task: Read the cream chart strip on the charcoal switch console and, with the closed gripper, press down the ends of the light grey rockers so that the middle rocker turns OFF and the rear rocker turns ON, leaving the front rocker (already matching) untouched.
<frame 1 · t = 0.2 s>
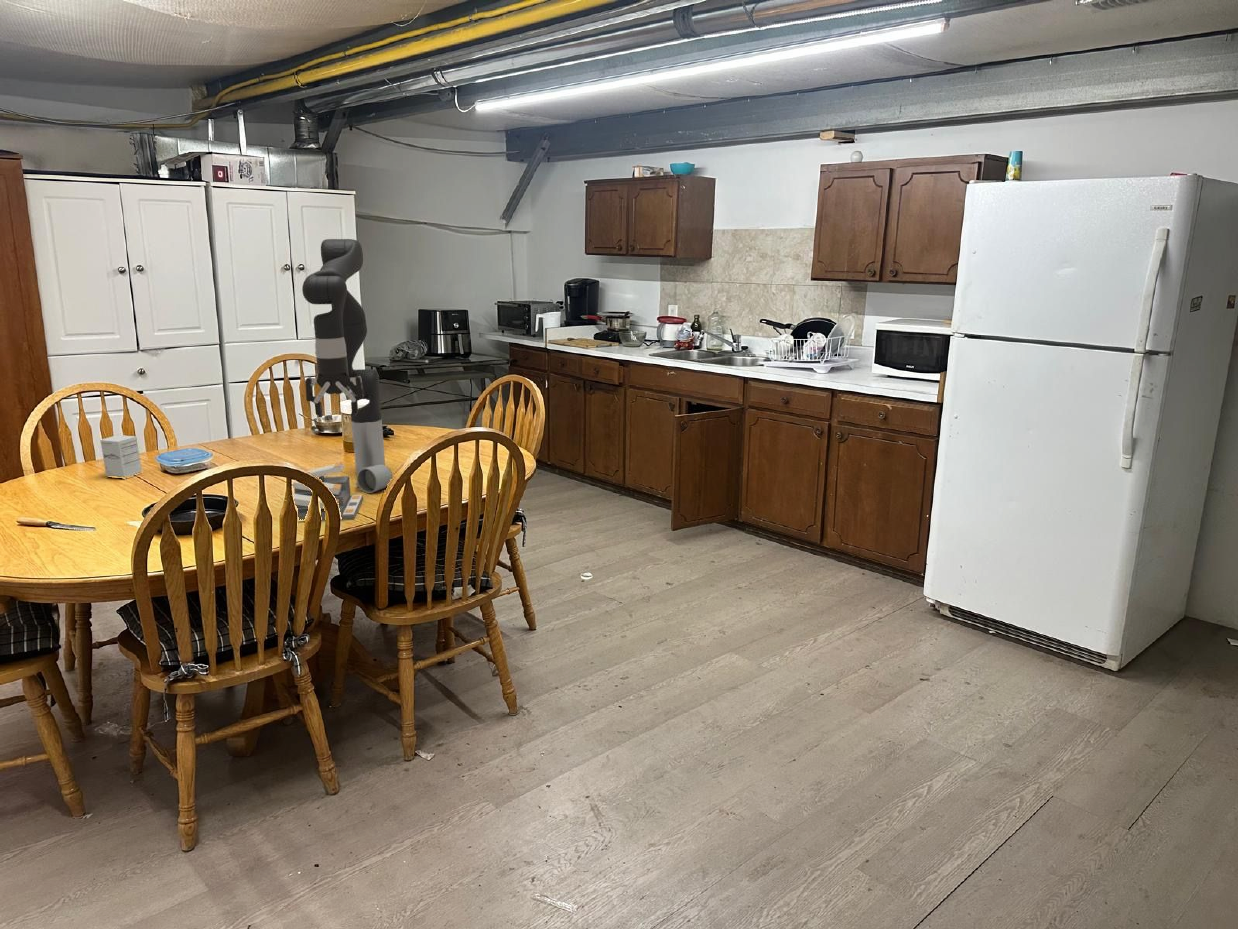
hand: (337, 416, 225), 28 cm above the table, tool pointing down, fingers open, 8 cm apart
rear rocker: (320, 471, 242), point 10 cm above the table, hinge at 12.0°
front rocker: (314, 501, 232), point 5 cm above the table, hinge at -12.0°
ceramic mug: (372, 490, 258), on the table
supplement box: (124, 476, 272), on the table
middle rocker: (317, 486, 237), point 7 cm above the table, hinge at -12.0°
switch console: (320, 510, 239), on the table
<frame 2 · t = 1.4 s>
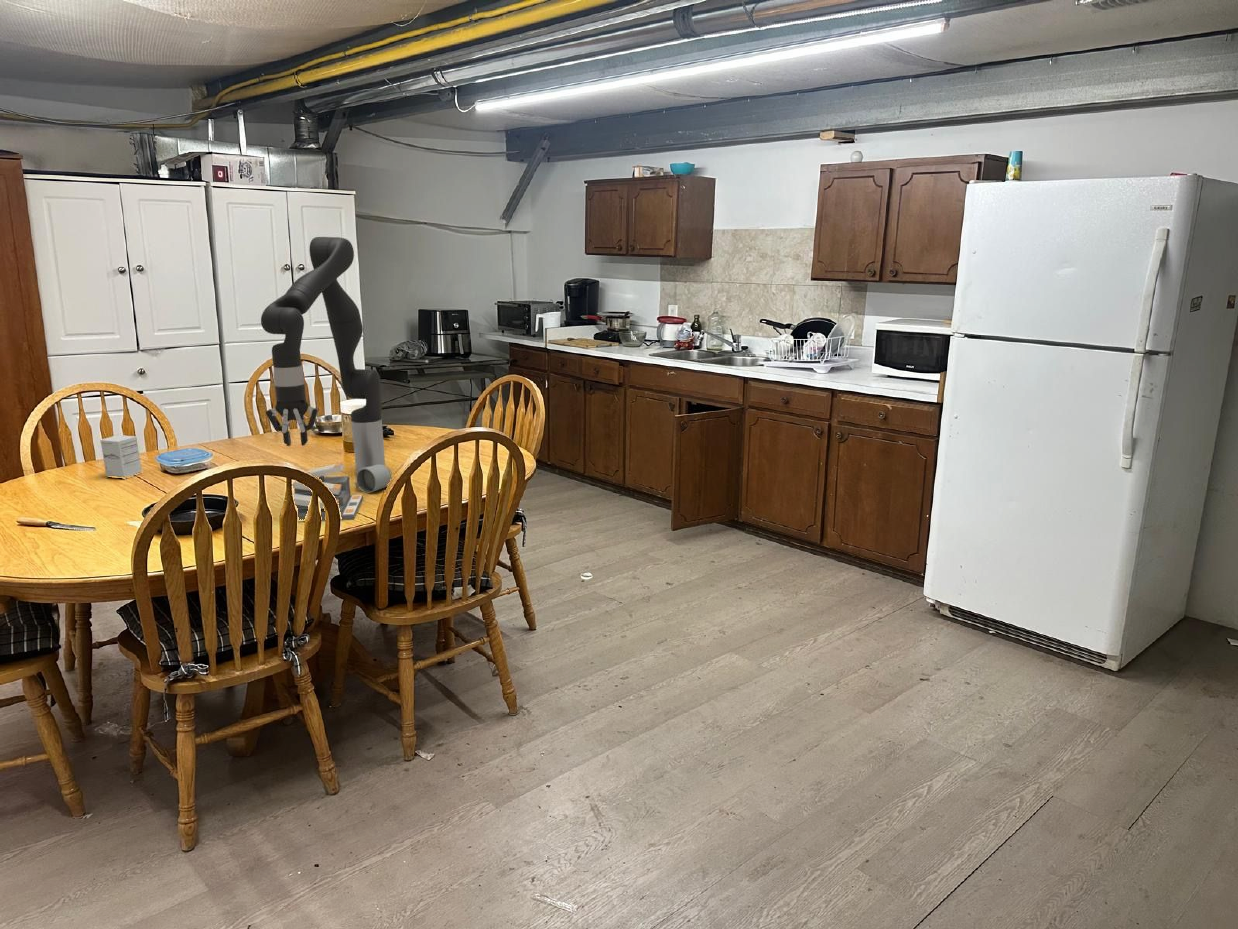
hand: (296, 444, 233), 19 cm above the table, tool pointing down, fingers open, 3 cm apart
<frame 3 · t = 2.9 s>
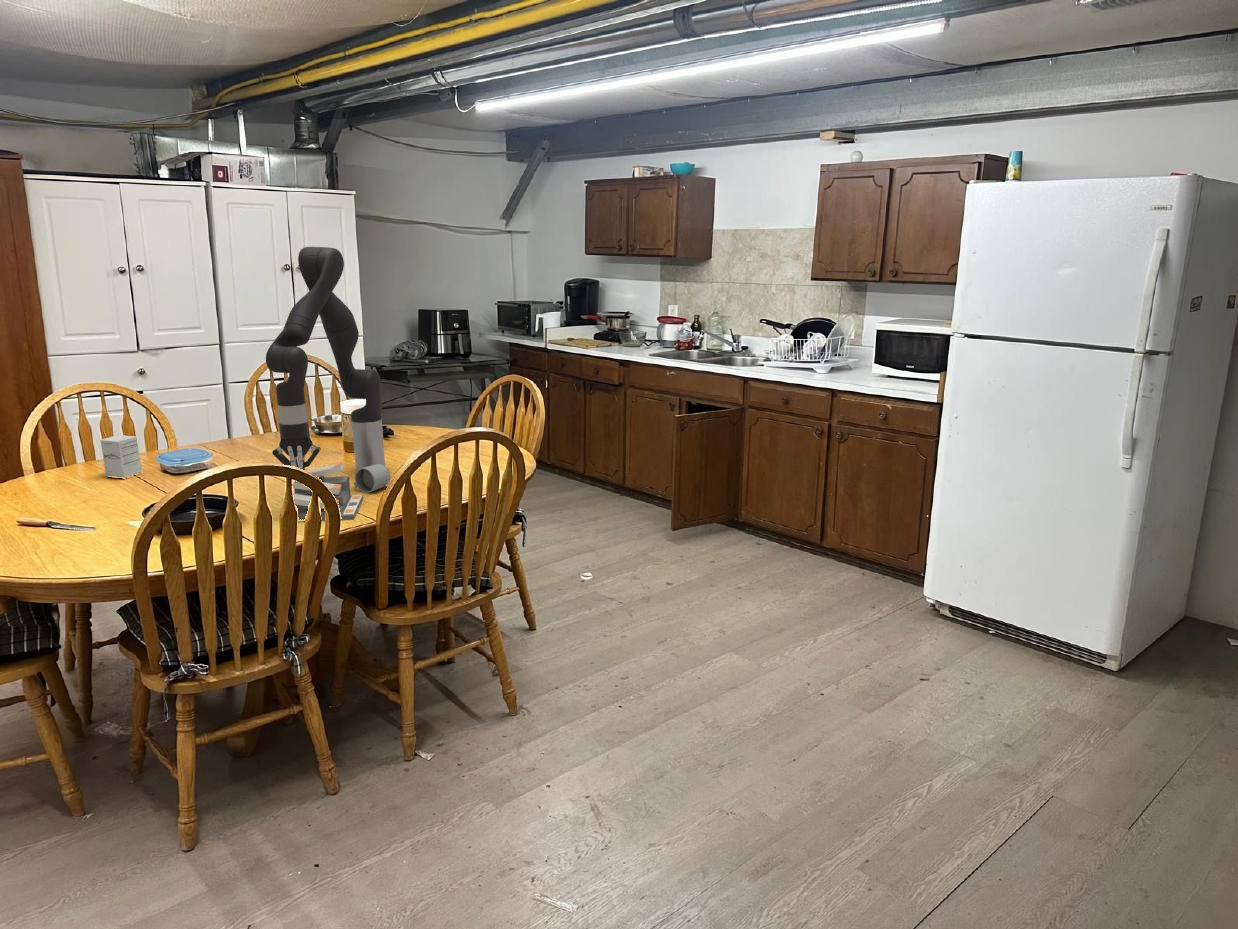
hand: (299, 481, 236), 9 cm above the table, tool pointing down, fingers closed
middle rocker: (317, 486, 237), point 7 cm above the table, hinge at -12.0°, touching gripper
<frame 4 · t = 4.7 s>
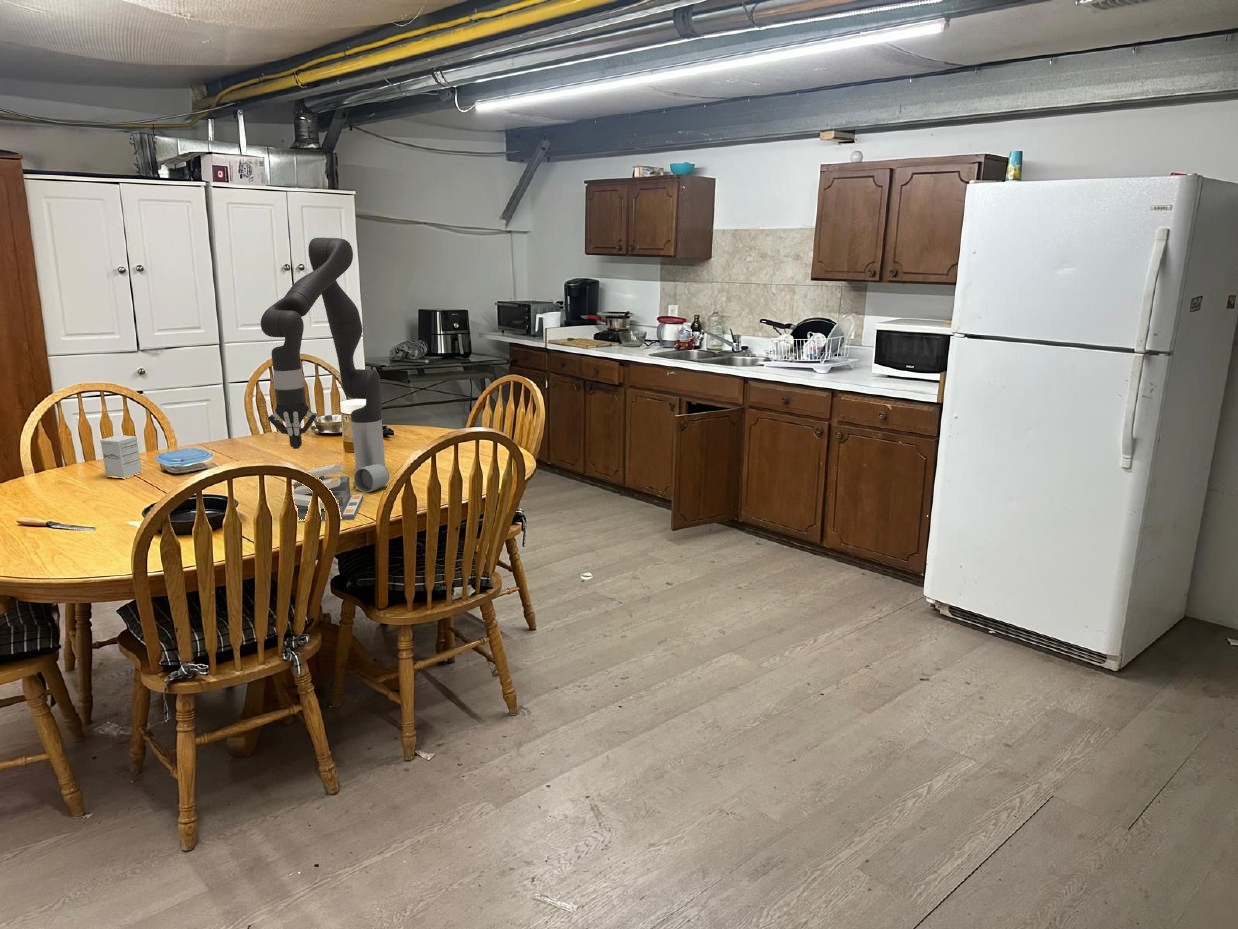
hand: (296, 448, 233), 18 cm above the table, tool pointing down, fingers closed
middle rocker: (317, 486, 237), point 7 cm above the table, hinge at 12.2°
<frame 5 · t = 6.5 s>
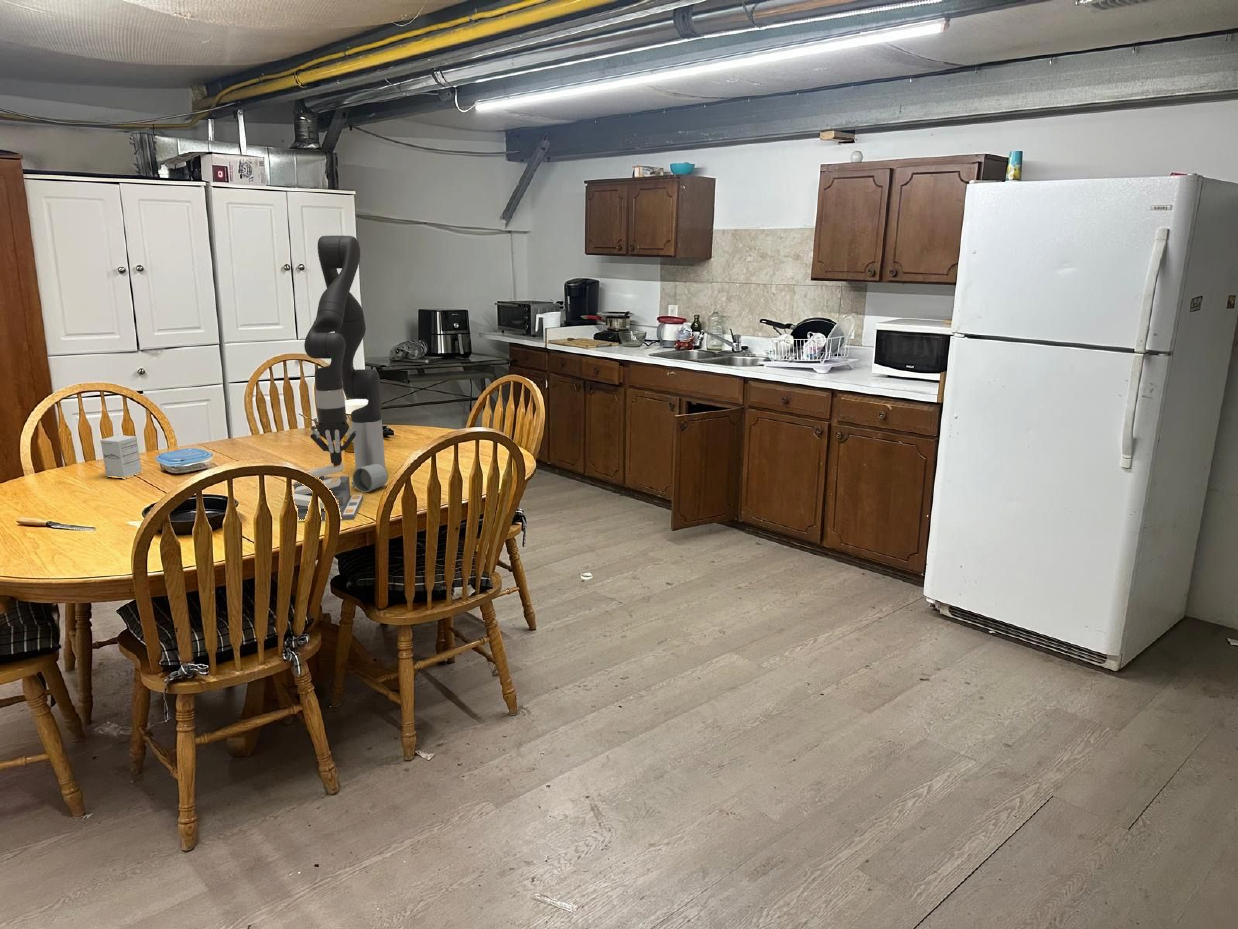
hand: (336, 464, 242), 11 cm above the table, tool pointing down, fingers closed
rear rocker: (320, 471, 242), point 10 cm above the table, hinge at 12.0°, touching gripper
middle rocker: (317, 486, 237), point 7 cm above the table, hinge at 12.6°
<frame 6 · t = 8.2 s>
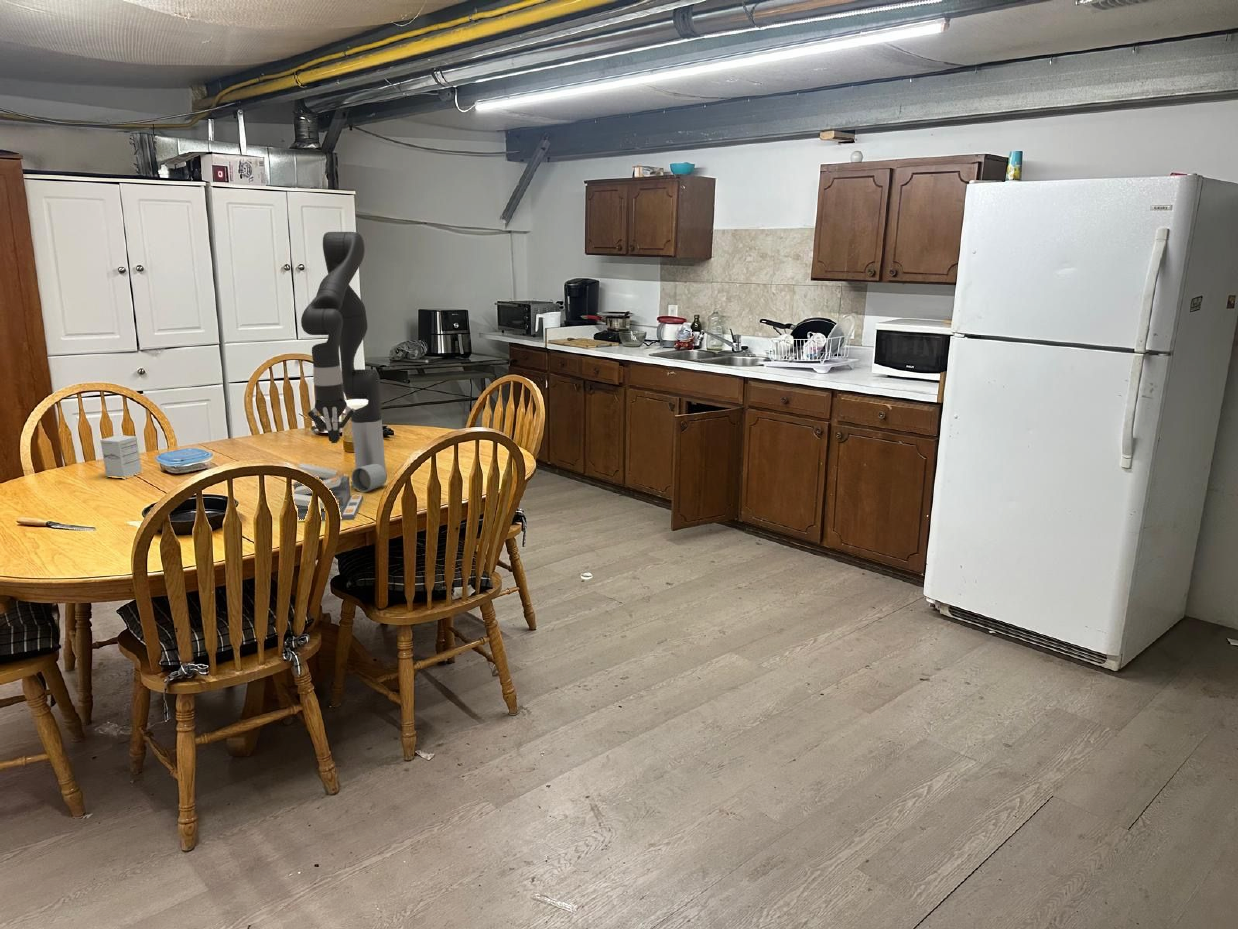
hand: (334, 442, 240), 18 cm above the table, tool pointing down, fingers closed
rear rocker: (320, 471, 242), point 10 cm above the table, hinge at -15.7°
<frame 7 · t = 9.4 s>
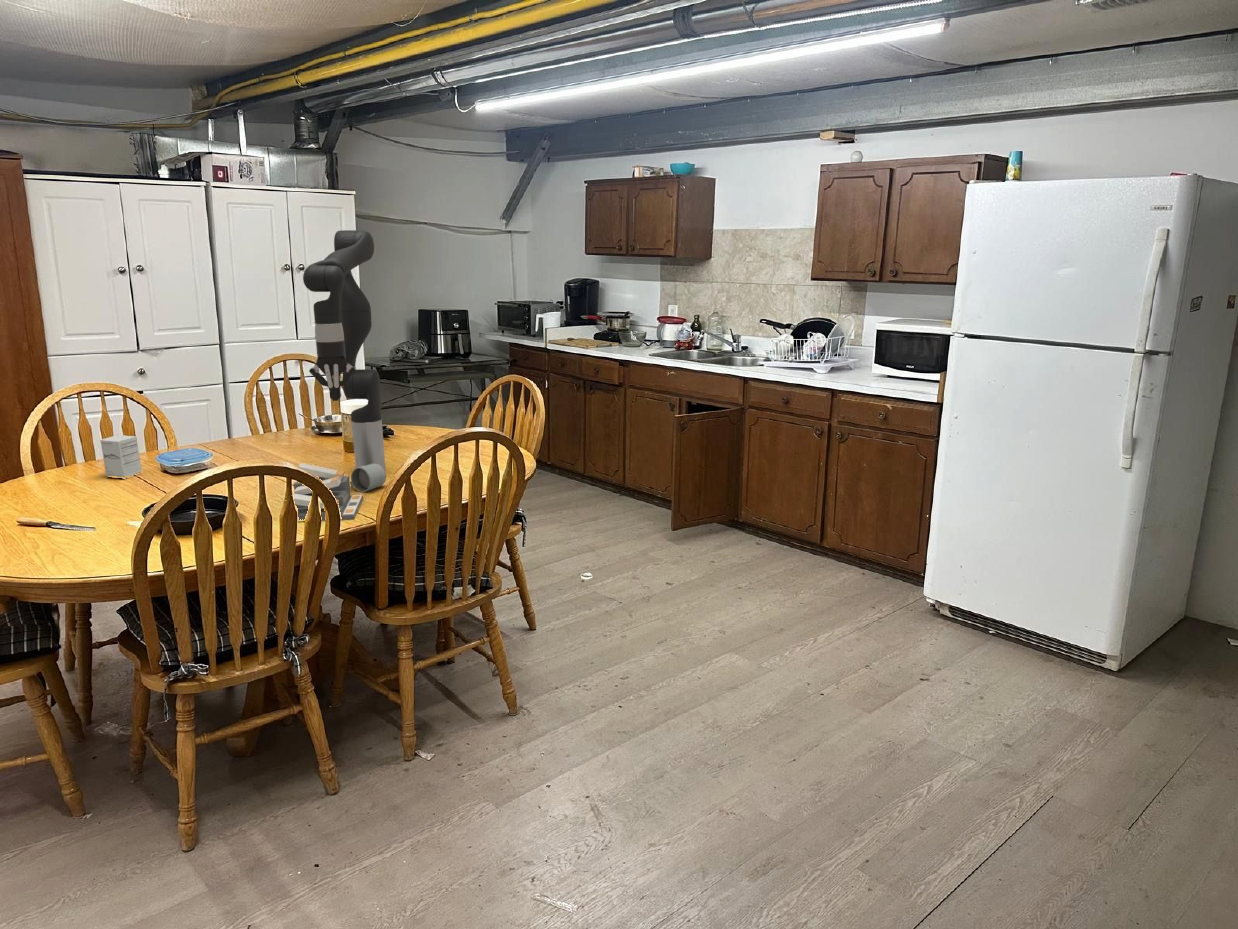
hand: (335, 400, 242), 29 cm above the table, tool pointing down, fingers closed
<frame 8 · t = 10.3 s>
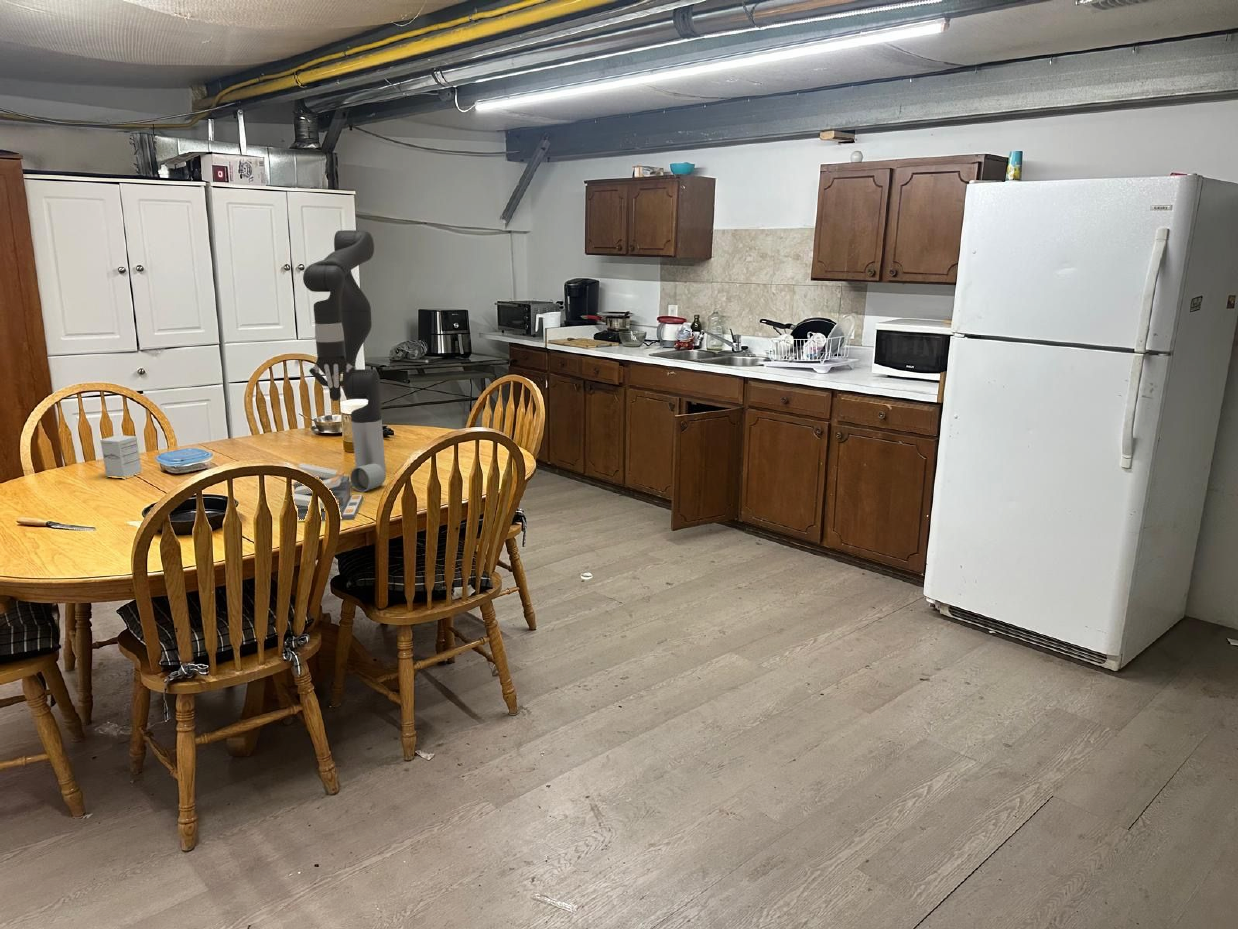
hand: (335, 400, 242), 29 cm above the table, tool pointing down, fingers closed
at the end: rear rocker at -16° (first picture: +12°); middle rocker at +13° (first picture: -12°); front rocker at -12° (first picture: -12°) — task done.
